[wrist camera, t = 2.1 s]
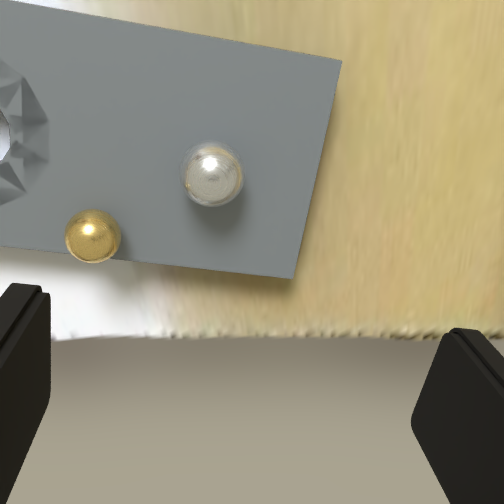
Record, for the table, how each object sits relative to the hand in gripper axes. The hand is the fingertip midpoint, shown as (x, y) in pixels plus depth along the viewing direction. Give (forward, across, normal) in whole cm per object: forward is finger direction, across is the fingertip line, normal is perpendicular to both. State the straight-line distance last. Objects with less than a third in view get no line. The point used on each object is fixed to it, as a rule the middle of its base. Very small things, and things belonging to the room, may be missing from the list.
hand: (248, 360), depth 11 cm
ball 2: (+16, +1, 0) cm, 16 cm away
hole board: (+20, +8, 0) cm, 21 cm away
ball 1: (+16, +7, +4) cm, 18 cm away
